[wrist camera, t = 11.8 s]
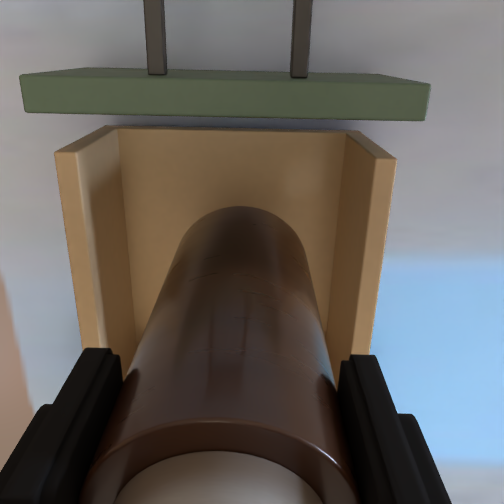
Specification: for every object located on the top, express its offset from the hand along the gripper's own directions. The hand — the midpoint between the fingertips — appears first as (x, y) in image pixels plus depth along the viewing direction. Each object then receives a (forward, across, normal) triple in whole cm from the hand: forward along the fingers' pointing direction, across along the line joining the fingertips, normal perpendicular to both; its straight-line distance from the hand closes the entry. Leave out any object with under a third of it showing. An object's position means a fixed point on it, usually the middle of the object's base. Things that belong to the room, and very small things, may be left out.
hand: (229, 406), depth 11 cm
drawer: (+14, +1, -2) cm, 14 cm away
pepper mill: (+7, 0, 0) cm, 7 cm away
